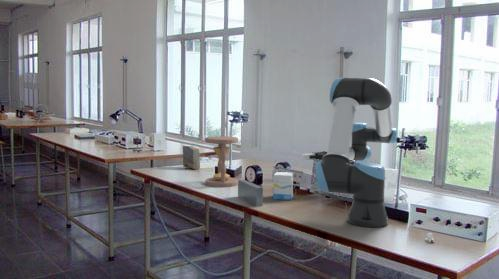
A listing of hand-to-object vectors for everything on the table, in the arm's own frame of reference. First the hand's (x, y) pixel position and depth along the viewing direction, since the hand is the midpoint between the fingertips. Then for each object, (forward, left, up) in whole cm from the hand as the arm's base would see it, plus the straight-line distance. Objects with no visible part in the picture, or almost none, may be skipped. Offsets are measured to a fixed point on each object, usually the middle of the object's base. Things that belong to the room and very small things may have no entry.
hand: (302, 157), depth 224 cm
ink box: (0, +11, -19) cm, 22 cm away
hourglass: (+41, +26, -19) cm, 52 cm away
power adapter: (-77, -3, -19) cm, 80 cm away
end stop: (0, +28, -19) cm, 34 cm away
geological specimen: (+93, +26, -19) cm, 98 cm away
